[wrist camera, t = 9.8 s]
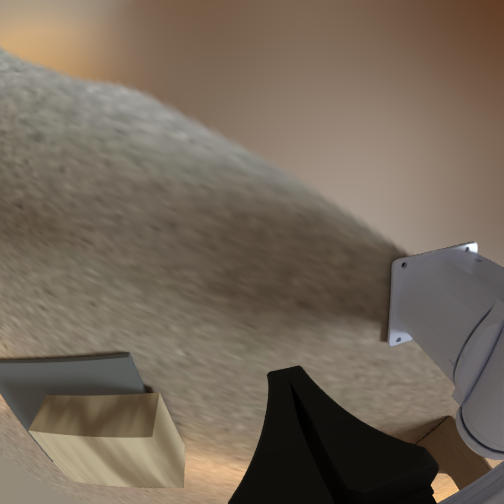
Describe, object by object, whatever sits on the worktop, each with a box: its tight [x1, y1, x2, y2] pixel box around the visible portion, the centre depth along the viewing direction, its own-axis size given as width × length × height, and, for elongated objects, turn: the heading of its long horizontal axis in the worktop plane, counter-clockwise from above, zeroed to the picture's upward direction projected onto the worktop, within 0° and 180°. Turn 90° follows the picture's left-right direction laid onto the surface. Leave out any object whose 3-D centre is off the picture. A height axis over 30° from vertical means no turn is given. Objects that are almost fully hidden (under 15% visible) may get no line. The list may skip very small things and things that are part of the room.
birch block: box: [28, 392, 185, 488], centre depth 22 cm, size 5×8×12 cm
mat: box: [0, 353, 147, 462], centre depth 24 cm, size 18×16×1 cm
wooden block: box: [415, 416, 492, 490], centre depth 24 cm, size 9×4×18 cm, turn 136°
